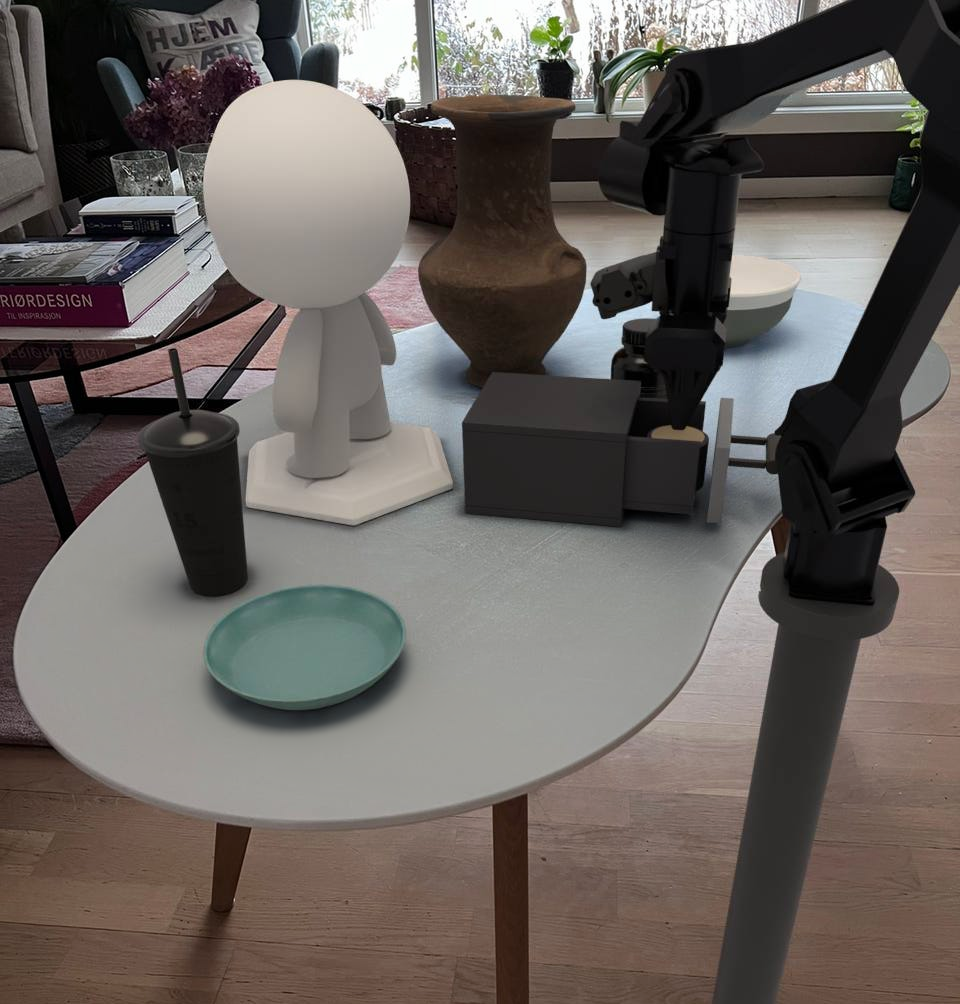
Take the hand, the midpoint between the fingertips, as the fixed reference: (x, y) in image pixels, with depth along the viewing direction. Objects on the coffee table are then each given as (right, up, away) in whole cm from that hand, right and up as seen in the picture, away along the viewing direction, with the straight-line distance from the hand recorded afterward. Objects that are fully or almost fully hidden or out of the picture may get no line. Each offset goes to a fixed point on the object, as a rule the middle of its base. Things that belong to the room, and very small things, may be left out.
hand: (681, 409), depth 92 cm
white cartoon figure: (-32, -4, +12) cm, 34 cm away
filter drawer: (0, -7, +5) cm, 8 cm away
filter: (0, -6, +4) cm, 7 cm away
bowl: (+13, +19, +43) cm, 49 cm away
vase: (-15, +11, +33) cm, 38 cm away
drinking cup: (-40, -16, -5) cm, 44 cm away
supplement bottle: (-1, +1, +17) cm, 17 cm away
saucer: (-31, -23, -15) cm, 41 cm away
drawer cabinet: (-11, -6, +7) cm, 15 cm away
